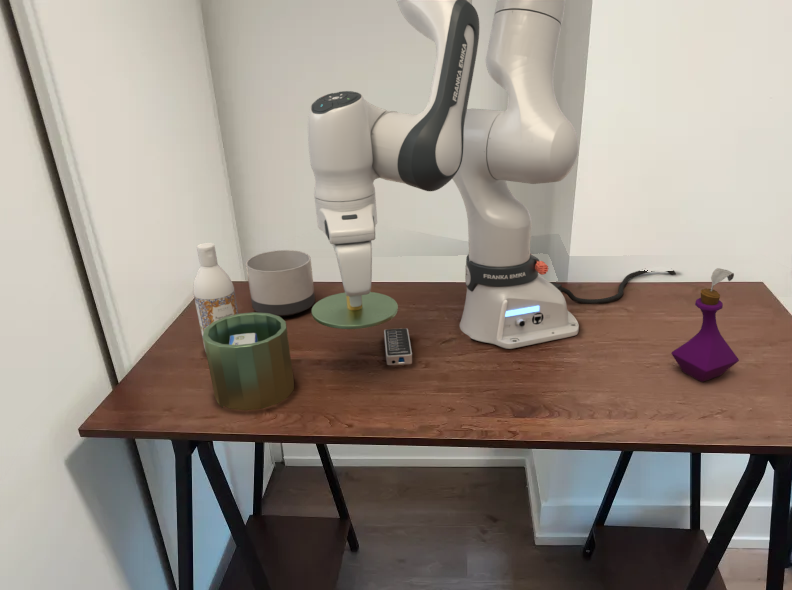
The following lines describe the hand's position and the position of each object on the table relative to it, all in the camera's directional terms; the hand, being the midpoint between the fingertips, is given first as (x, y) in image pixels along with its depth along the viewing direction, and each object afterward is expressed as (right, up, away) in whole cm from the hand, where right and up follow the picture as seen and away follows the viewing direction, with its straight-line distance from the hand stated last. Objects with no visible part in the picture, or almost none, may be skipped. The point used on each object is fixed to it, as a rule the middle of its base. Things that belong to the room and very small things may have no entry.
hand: (354, 300), depth 107 cm
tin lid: (0, -2, +1) cm, 2 cm away
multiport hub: (+6, -8, +16) cm, 19 cm away
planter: (-18, +2, +35) cm, 39 cm away
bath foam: (-26, -7, +18) cm, 32 cm away
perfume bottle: (+57, -12, +6) cm, 58 cm away
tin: (-17, -15, +5) cm, 23 cm away
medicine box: (-17, -15, +4) cm, 23 cm away
